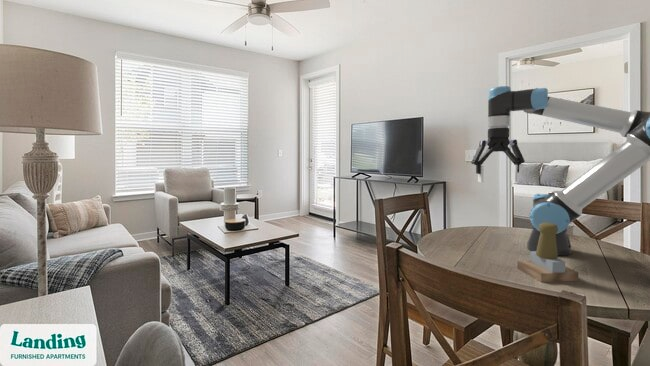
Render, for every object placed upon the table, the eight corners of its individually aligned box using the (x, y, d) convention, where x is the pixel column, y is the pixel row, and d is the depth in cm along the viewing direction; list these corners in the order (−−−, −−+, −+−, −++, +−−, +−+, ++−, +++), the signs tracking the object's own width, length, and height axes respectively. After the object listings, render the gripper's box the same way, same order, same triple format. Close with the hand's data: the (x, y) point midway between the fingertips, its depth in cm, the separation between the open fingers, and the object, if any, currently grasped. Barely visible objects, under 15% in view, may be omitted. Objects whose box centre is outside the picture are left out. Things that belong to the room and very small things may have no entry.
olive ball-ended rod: (551, 260, 104) (553, 227, 103) (531, 254, 110) (533, 223, 108) (561, 256, 107) (563, 223, 105) (541, 250, 113) (543, 219, 111)
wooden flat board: (550, 269, 116) (550, 259, 115) (578, 283, 104) (578, 272, 103) (517, 270, 115) (517, 260, 115) (540, 284, 103) (541, 273, 103)
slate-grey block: (541, 260, 114) (542, 251, 114) (564, 272, 103) (565, 261, 103) (530, 261, 114) (530, 251, 114) (552, 273, 103) (552, 262, 103)
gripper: (523, 127, 133) (522, 179, 135) (462, 129, 132) (462, 181, 134) (536, 126, 126) (534, 181, 128) (471, 127, 125) (470, 183, 127)
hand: (497, 181), depth 131 cm, fingers open, 13 cm apart
